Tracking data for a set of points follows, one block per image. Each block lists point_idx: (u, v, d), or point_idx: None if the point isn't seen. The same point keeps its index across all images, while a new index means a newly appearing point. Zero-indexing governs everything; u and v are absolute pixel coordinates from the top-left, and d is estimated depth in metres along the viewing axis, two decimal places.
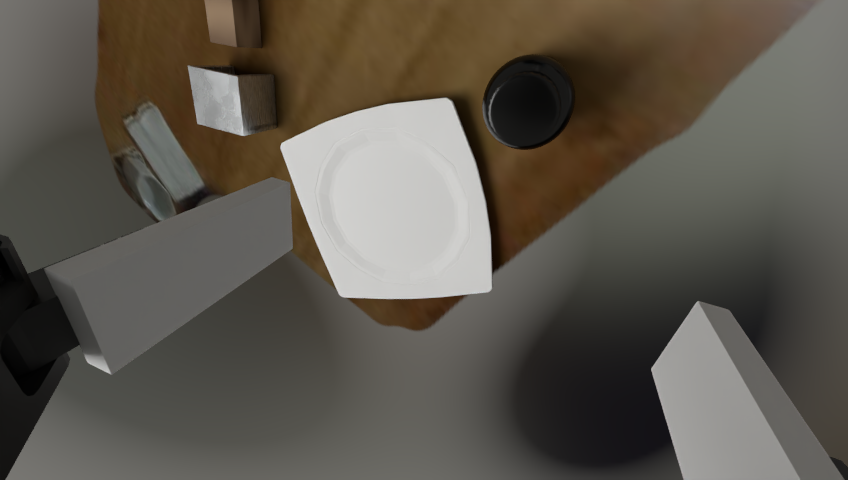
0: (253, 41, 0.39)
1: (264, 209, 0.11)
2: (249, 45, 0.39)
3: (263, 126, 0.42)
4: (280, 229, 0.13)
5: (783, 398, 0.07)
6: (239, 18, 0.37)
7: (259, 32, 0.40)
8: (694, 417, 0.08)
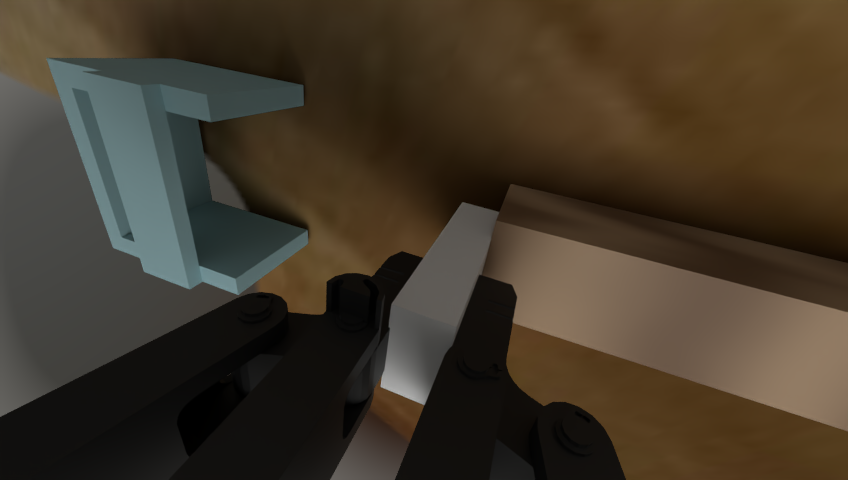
0: None
1: None
2: None
3: None
4: None
5: (482, 247, 0.10)
6: None
7: (833, 261, 0.11)
8: None
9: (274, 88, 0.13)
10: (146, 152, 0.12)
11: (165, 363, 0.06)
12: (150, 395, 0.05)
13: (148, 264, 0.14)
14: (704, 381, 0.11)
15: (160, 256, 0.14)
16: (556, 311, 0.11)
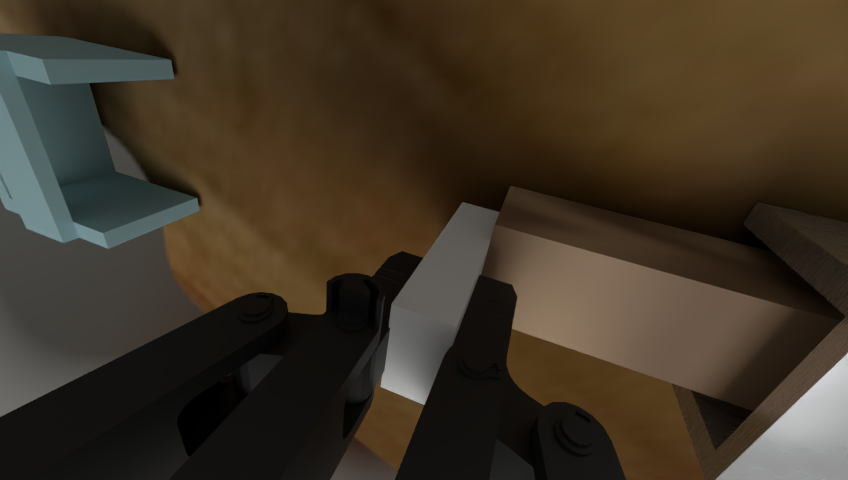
0: None
1: None
2: None
3: None
4: None
5: (482, 247, 0.10)
6: None
7: None
8: None
9: (131, 60, 0.14)
10: (1, 112, 0.13)
11: (165, 363, 0.06)
12: (150, 395, 0.05)
13: (28, 220, 0.16)
14: (703, 390, 0.10)
15: (34, 212, 0.15)
16: (554, 317, 0.11)
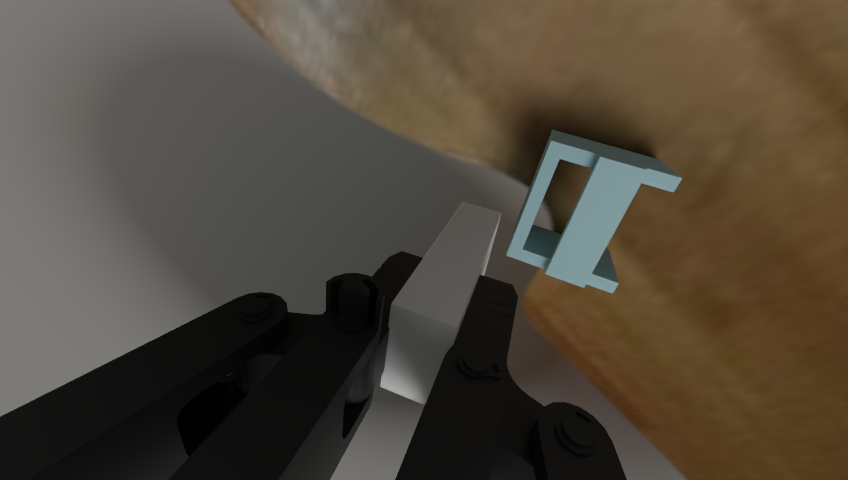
0: None
1: None
2: None
3: None
4: None
5: (482, 248, 0.10)
6: None
7: None
8: None
9: (666, 165, 0.21)
10: (618, 204, 0.19)
11: (165, 363, 0.06)
12: (150, 395, 0.05)
13: (554, 269, 0.22)
14: None
15: (572, 265, 0.21)
16: None
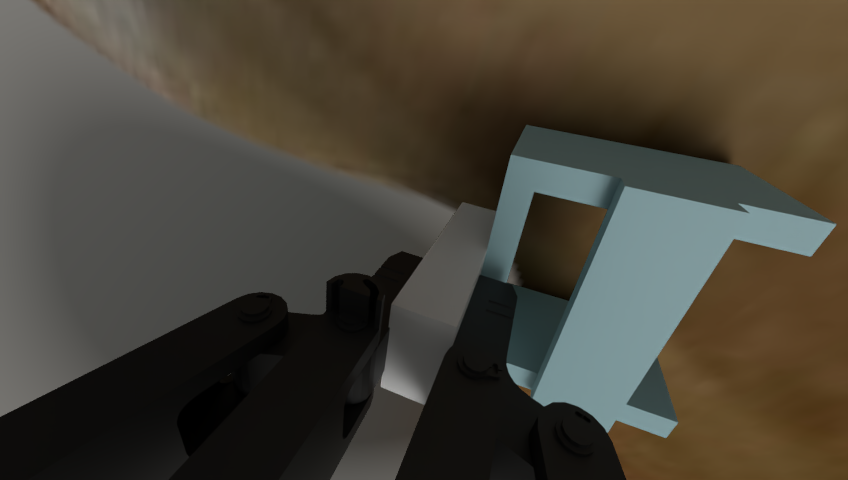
0: None
1: None
2: None
3: None
4: None
5: (482, 248, 0.10)
6: None
7: None
8: None
9: (765, 182, 0.10)
10: (674, 288, 0.08)
11: (165, 363, 0.06)
12: (150, 395, 0.05)
13: (547, 398, 0.11)
14: None
15: (581, 394, 0.11)
16: None
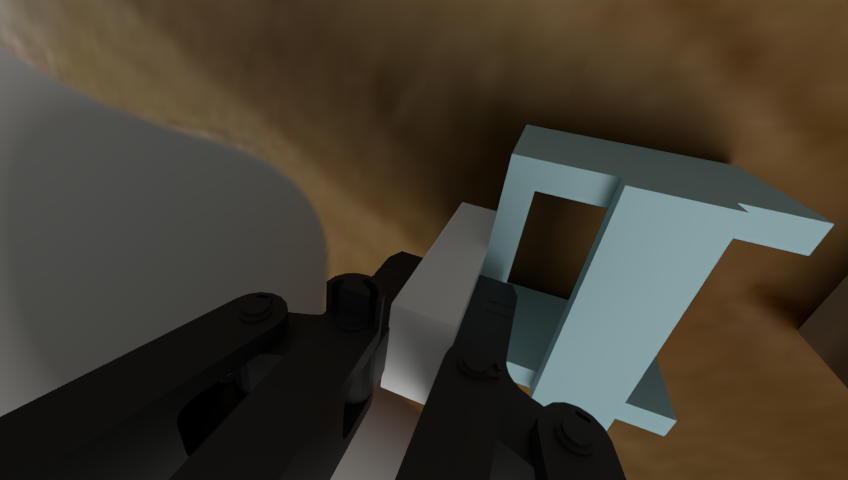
0: None
1: None
2: None
3: None
4: None
5: (482, 248, 0.10)
6: None
7: None
8: None
9: (763, 182, 0.10)
10: (674, 287, 0.08)
11: (165, 363, 0.06)
12: (150, 395, 0.05)
13: (546, 397, 0.11)
14: None
15: (581, 392, 0.11)
16: None
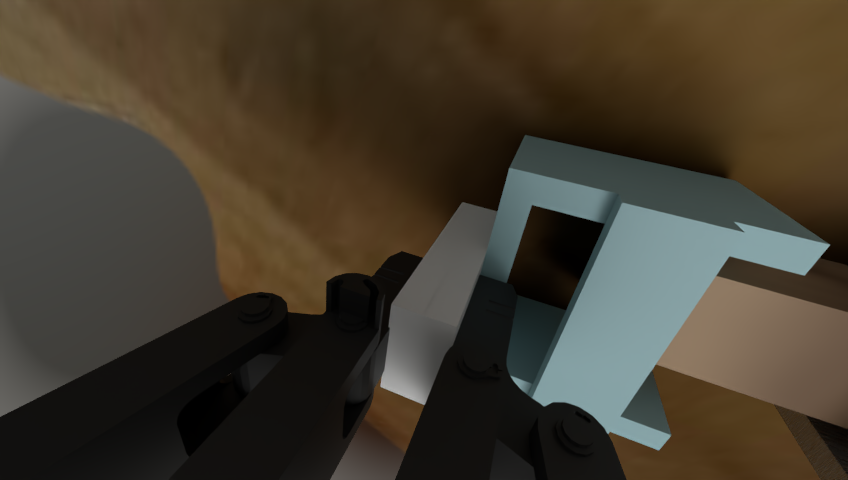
0: None
1: None
2: None
3: None
4: None
5: (482, 247, 0.10)
6: None
7: None
8: None
9: (760, 198, 0.10)
10: (669, 304, 0.08)
11: (165, 363, 0.06)
12: (150, 395, 0.05)
13: None
14: None
15: None
16: (686, 347, 0.11)
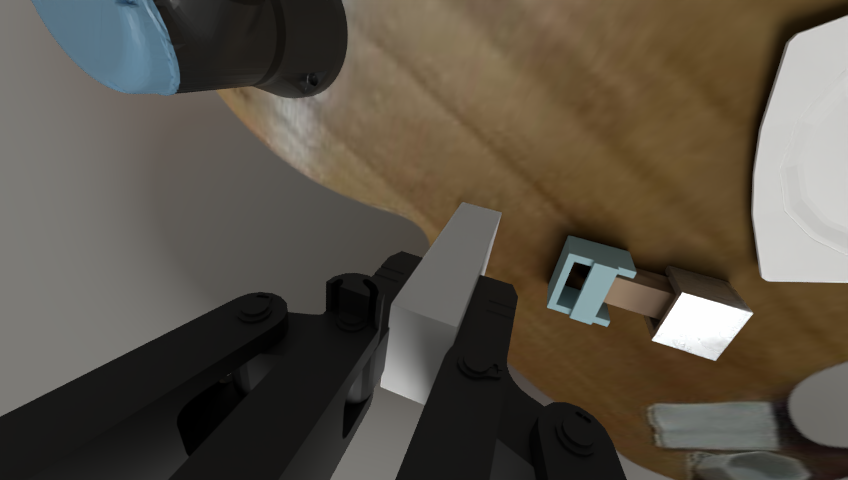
0: None
1: None
2: None
3: (732, 293, 0.37)
4: None
5: (482, 247, 0.10)
6: None
7: None
8: None
9: (631, 258, 0.39)
10: (606, 284, 0.37)
11: (165, 363, 0.06)
12: (150, 395, 0.05)
13: (574, 315, 0.40)
14: (655, 317, 0.39)
15: (584, 313, 0.40)
16: (614, 297, 0.40)
